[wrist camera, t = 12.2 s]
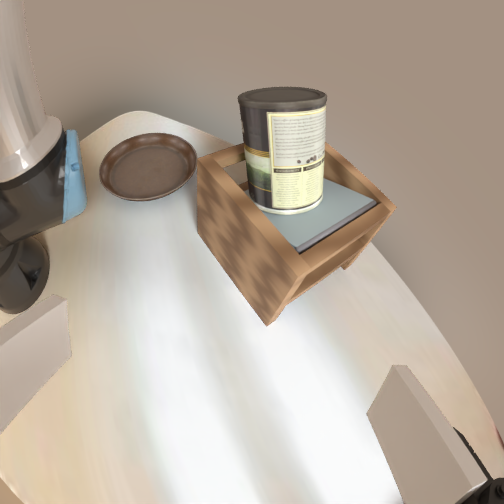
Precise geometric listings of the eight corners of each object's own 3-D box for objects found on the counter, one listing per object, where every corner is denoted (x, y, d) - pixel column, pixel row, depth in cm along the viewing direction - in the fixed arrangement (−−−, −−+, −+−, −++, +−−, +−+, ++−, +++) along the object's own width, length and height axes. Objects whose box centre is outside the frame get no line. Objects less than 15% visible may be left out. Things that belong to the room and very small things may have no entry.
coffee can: (235, 207, 37) (220, 101, 27) (265, 173, 43) (258, 86, 34) (313, 222, 33) (316, 104, 23) (330, 183, 40) (333, 89, 30)
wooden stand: (197, 233, 48) (197, 158, 34) (283, 192, 56) (305, 125, 42) (266, 326, 41) (298, 276, 27) (350, 265, 49) (396, 207, 35)
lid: (224, 206, 40) (223, 200, 39) (300, 174, 46) (300, 168, 45) (299, 256, 30) (299, 249, 29) (376, 207, 36) (376, 201, 35)
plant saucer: (216, 165, 58) (217, 153, 55) (149, 227, 48) (146, 216, 45) (150, 134, 62) (149, 123, 59) (85, 182, 51) (81, 171, 48)
